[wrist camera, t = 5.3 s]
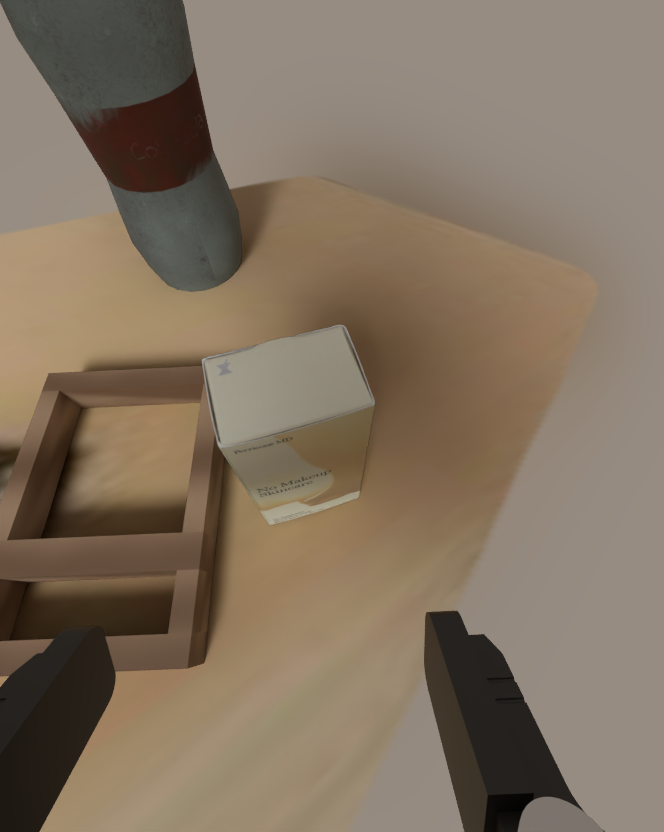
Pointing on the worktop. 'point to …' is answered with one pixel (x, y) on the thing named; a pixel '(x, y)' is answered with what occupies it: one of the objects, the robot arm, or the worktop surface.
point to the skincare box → (293, 420)
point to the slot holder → (120, 554)
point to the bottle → (140, 125)
